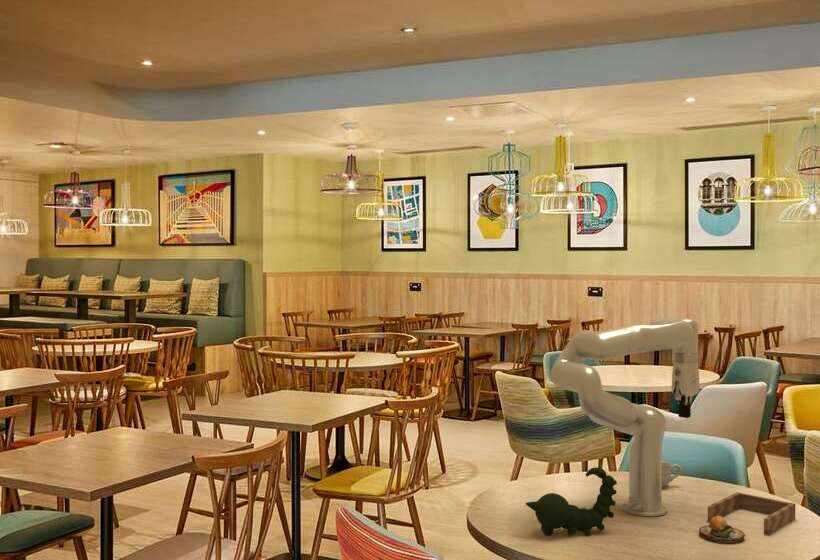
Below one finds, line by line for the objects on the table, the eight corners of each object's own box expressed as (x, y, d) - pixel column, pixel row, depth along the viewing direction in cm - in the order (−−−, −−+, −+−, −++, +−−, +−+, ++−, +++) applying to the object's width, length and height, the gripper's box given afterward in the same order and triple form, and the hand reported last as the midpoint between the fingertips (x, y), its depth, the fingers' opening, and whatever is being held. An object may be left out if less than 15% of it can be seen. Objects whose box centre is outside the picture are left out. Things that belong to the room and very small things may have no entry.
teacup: (635, 488, 282) (636, 464, 282) (640, 480, 292) (640, 457, 292) (679, 492, 277) (680, 468, 277) (682, 484, 287) (682, 460, 287)
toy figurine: (602, 531, 244) (517, 528, 239) (609, 464, 244) (523, 460, 239) (616, 542, 235) (528, 539, 230) (623, 472, 234) (535, 468, 230)
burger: (752, 544, 229) (752, 517, 229) (710, 546, 228) (710, 518, 227) (731, 530, 241) (731, 504, 240) (691, 531, 239) (691, 505, 239)
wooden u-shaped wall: (768, 535, 235) (768, 519, 235) (707, 521, 247) (707, 506, 247) (795, 519, 250) (795, 503, 249) (736, 506, 262) (736, 492, 262)
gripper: (685, 361, 256) (684, 422, 256) (707, 357, 266) (706, 415, 267) (662, 359, 261) (661, 418, 261) (684, 355, 272) (684, 412, 272)
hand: (684, 417), depth 264 cm, fingers closed
